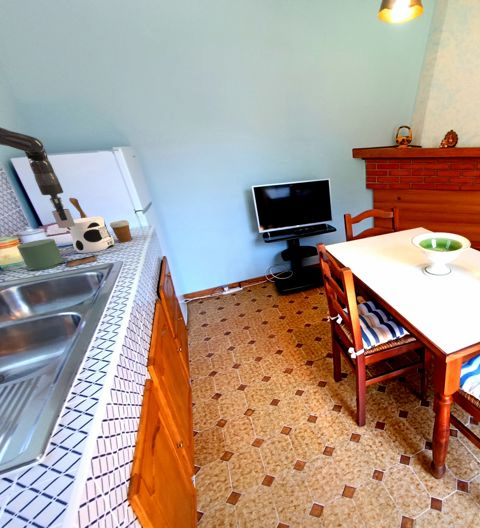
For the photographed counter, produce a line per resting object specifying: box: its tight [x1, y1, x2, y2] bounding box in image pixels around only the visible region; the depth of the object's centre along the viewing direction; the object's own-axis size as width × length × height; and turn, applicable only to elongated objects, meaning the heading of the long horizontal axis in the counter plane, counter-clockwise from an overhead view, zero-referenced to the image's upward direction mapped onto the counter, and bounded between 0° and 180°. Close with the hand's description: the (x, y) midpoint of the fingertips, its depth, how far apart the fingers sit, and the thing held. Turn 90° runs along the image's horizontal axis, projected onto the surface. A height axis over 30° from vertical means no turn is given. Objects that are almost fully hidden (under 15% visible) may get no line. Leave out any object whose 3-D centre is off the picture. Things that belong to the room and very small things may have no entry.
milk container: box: [67, 216, 115, 255], centre depth 164 cm, size 17×17×18 cm
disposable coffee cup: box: [109, 219, 133, 244], centre depth 182 cm, size 10×10×12 cm
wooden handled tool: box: [68, 197, 88, 219], centre depth 179 cm, size 7×19×28 cm, turn 44°
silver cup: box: [51, 208, 75, 229], centre depth 143 cm, size 6×6×8 cm
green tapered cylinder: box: [16, 238, 66, 272], centre depth 146 cm, size 14×14×12 cm
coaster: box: [66, 255, 98, 268], centre depth 152 cm, size 11×11×1 cm
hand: (64, 219), depth 143 cm, fingers closed on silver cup, 6 cm apart
